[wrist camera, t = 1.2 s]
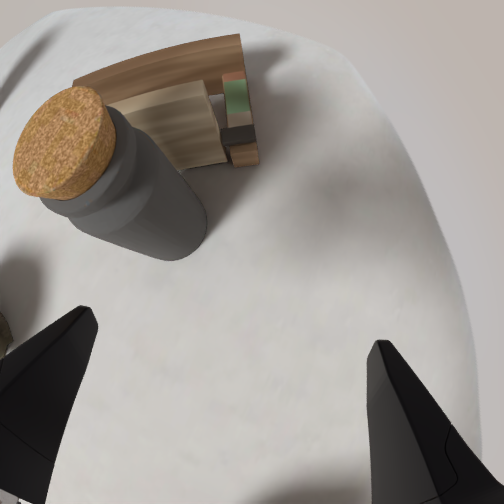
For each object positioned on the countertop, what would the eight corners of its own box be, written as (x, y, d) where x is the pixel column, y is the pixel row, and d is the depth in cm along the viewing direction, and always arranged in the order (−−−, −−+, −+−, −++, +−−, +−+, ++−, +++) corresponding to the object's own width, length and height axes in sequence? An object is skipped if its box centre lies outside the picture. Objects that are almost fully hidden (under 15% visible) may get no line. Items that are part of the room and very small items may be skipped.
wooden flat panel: (258, 157, 24) (249, 87, 15) (92, 189, 24) (30, 150, 15) (256, 144, 24) (246, 72, 15) (93, 177, 25) (33, 135, 16)
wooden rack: (259, 164, 24) (254, 125, 18) (94, 195, 25) (55, 172, 19) (246, 78, 25) (239, 33, 19) (102, 112, 26) (73, 80, 20)
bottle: (127, 224, 24) (-7, 151, 9) (178, 176, 24) (84, 55, 9) (167, 277, 23) (27, 245, 8) (223, 226, 23) (146, 119, 8)
